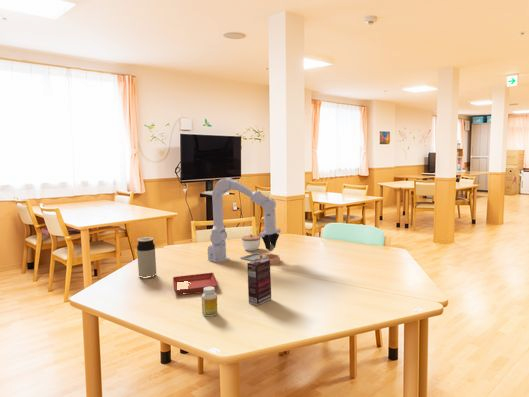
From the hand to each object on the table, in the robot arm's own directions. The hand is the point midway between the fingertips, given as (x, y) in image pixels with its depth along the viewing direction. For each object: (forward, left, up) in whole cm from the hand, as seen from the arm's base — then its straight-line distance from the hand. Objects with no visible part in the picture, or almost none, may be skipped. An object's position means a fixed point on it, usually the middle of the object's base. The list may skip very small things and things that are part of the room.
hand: (270, 248), depth 208 cm
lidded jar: (+12, +25, -7) cm, 29 cm away
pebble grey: (-2, +1, -6) cm, 7 cm away
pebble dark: (0, 0, -1) cm, 1 cm away
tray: (0, +12, -7) cm, 14 cm away
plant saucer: (-49, +1, -8) cm, 50 cm away
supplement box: (-44, -32, -7) cm, 55 cm away
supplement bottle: (-64, -26, -7) cm, 69 cm away
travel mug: (-53, +31, -7) cm, 62 cm away
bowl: (-1, +1, -7) cm, 7 cm away
